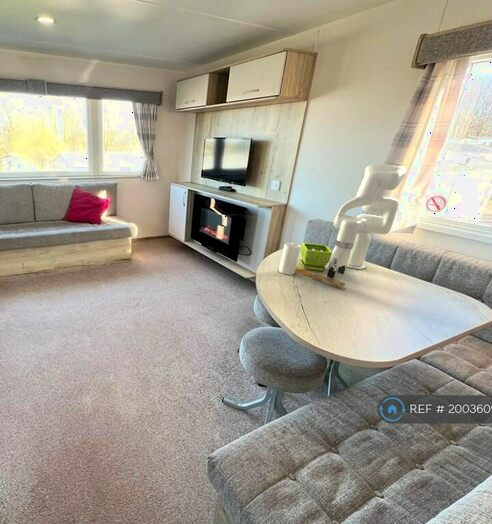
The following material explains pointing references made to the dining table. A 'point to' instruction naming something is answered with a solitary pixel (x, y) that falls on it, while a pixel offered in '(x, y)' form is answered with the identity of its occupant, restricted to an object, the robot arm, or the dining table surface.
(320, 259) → the flower pot
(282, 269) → the cup
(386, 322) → the dining table surface
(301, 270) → the breadstick
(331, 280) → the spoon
